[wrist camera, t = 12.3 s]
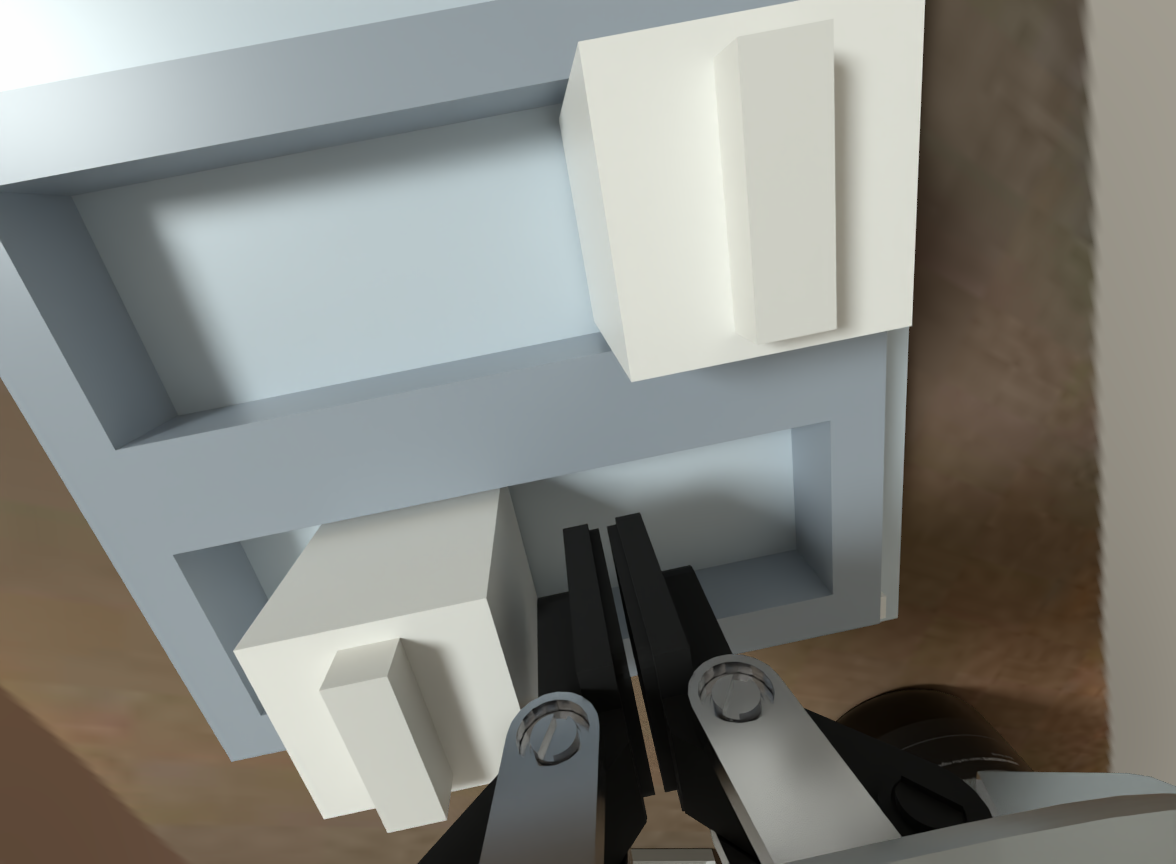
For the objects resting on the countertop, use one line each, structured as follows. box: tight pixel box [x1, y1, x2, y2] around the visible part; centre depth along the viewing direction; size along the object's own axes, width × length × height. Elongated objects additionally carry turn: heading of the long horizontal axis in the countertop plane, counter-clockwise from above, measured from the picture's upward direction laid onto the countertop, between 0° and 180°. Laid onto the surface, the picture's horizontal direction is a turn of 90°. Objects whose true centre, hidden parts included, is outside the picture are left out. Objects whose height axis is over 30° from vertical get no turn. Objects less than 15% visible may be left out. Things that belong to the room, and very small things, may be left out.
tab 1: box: [233, 486, 538, 833], centre depth 11 cm, size 4×4×6 cm
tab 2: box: [559, 0, 925, 382], centre depth 9 cm, size 4×4×6 cm
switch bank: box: [0, 0, 909, 761], centre depth 13 cm, size 18×20×4 cm
